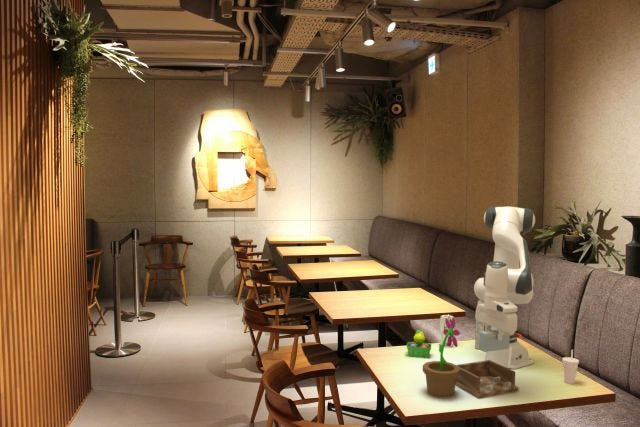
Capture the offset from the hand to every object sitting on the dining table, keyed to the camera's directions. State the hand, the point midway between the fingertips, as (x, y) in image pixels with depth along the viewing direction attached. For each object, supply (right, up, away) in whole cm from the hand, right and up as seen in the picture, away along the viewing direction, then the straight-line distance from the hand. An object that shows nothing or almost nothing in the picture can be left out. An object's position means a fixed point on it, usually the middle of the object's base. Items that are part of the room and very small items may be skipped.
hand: (494, 338), depth 218 cm
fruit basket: (-22, -19, +46) cm, 54 cm away
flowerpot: (-21, -22, 0) cm, 30 cm away
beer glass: (-5, -18, +60) cm, 63 cm away
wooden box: (-2, -21, +6) cm, 22 cm away
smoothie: (+35, -22, +13) cm, 43 cm away
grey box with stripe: (0, -4, 0) cm, 4 cm away
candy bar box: (+13, -18, +59) cm, 63 cm away
